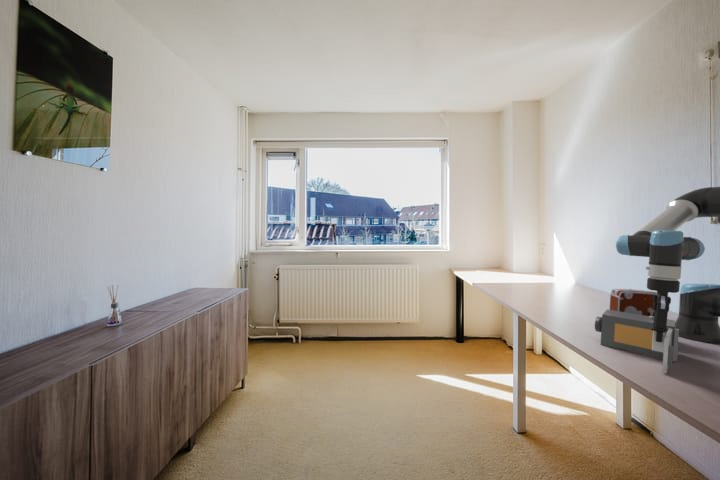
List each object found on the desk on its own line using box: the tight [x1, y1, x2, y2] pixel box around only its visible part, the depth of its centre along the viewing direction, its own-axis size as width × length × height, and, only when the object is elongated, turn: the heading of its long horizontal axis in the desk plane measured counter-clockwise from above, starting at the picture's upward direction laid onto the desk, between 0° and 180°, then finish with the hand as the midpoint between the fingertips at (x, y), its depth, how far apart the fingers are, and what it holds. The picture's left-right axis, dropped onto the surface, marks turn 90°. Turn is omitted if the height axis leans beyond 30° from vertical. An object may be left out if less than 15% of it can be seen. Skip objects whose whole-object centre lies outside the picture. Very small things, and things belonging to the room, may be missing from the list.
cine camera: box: [609, 288, 657, 316], centre depth 134 cm, size 9×19×20 cm, turn 78°
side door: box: [661, 328, 673, 374], centre depth 103 cm, size 2×16×11 cm, turn 132°
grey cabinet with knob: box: [594, 309, 680, 362], centre depth 120 cm, size 13×24×13 cm, turn 45°
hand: (657, 350), depth 102 cm, fingers closed
